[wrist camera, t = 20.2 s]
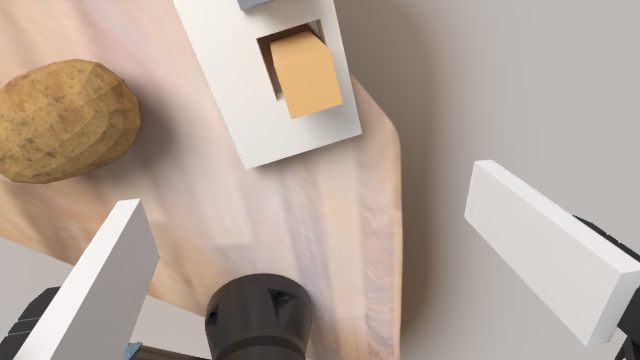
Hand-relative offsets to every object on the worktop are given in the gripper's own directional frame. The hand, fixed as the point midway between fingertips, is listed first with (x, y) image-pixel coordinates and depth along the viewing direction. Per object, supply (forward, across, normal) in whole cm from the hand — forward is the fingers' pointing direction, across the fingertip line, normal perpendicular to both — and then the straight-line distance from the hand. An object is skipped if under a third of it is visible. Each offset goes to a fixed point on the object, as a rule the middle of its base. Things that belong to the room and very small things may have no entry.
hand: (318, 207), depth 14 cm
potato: (+26, +20, +2) cm, 32 cm away
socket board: (+25, 0, -2) cm, 25 cm away
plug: (+25, -2, -2) cm, 25 cm away
